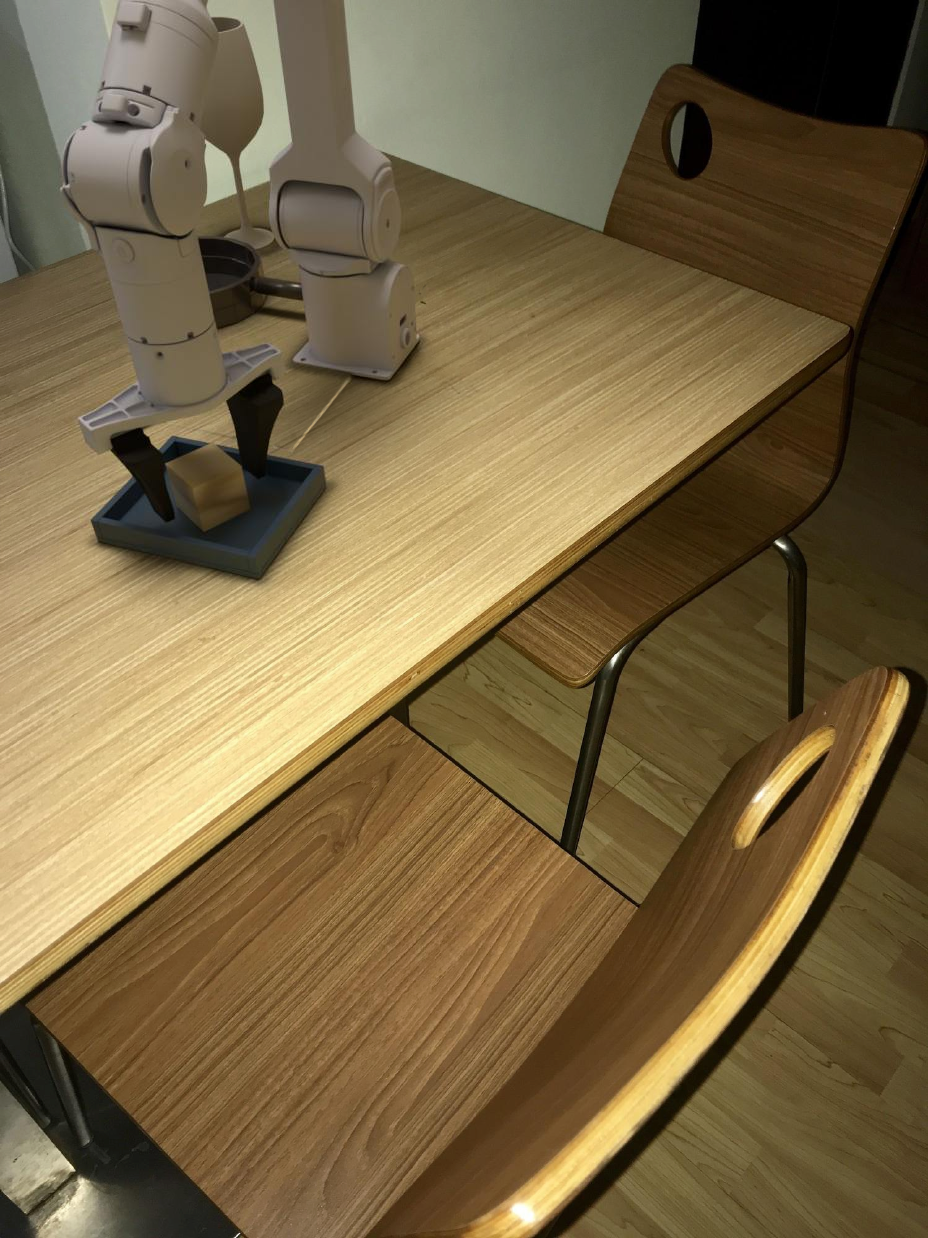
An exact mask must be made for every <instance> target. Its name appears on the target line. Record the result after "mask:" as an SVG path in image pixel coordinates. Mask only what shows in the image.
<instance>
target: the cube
mask: <svg viewBox="0 0 928 1238" xmlns="http://www.w3.org/2000/svg"><path fill="white" fill-rule="evenodd" d="M210 443H211V444H208V445H206V446H204V447H202V448H199V449H197V450H195V451H193V452H190V453H188V454H186V455H184V456H181V457H179V458H177V459H174V460H172V461H170V462H168V463H166V464H165V465H166V469H167V472H168V476H169V480H170V483H171V487H172V491H173V494H174V498H175V501H176V505H177V507H178V508H179V509H180V510H181V511H182V512H183V513H184V514H185V515H186V516H187V517H188V518H189V519H190V520H192V521H193V522H194V523H195V524H196V525H197V526H198V527H199V528H200V529H201V530H202V531H203V532H206V531H208V530H210V529H212V528H214V527H216V526H218V525H220V524H222V523H224V522H226V521H228V520H230V519H232V518H234V517H236V516H238V515H240V514H242V513H244V512H247V511H249V510H250V504H249V500H248V495H247V490H246V485H245V481H244V476H243V471H242V466H241V465H240V464H238V463H237V462H236V461H235V460H234V459H232V458H231V457H230V456H229V455H227V454H226V453H225V452H224V451H223V450H221V449H220V448H219V447H218V446H217V445H218V444H217V445H215V444H216V443H215V442H210Z"/></svg>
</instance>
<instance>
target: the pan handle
mask: <svg viewBox="0 0 928 1238" xmlns="http://www.w3.org/2000/svg"><path fill="white" fill-rule="evenodd" d="M252 289H253V290H254V291H255V292H256V293H258V294H263V295H266V296H269V297H276V298H282V299H288V300H294V301H301V302H304V301H303V294H302V286H301V281H300V282H299V281H295V280H293V281H292V280H287V279H279V278H274V277H266V276H264V277H261V276H259V277H256V278H254V279H253V281H252Z"/></svg>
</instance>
